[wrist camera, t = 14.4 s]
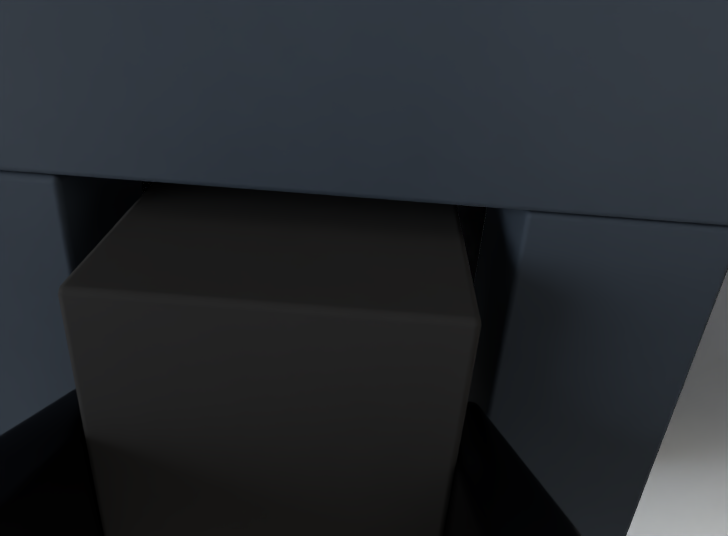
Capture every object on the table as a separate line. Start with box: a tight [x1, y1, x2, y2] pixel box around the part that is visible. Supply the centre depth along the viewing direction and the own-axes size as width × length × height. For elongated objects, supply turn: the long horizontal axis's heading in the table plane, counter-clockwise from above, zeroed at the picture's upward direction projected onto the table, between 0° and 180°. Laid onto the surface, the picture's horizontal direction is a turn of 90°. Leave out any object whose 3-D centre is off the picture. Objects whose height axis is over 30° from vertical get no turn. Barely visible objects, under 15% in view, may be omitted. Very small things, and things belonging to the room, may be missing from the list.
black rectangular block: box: [58, 182, 481, 536], centre depth 9 cm, size 5×4×3 cm
